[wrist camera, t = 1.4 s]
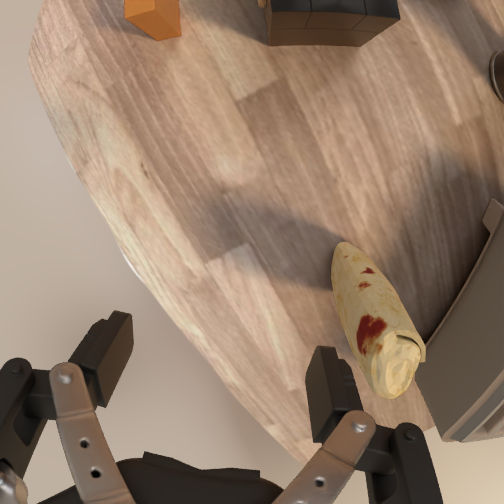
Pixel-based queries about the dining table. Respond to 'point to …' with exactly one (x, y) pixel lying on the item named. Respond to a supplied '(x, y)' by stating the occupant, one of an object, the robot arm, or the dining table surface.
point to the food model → (375, 322)
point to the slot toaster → (327, 21)
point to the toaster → (470, 350)
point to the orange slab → (155, 17)
